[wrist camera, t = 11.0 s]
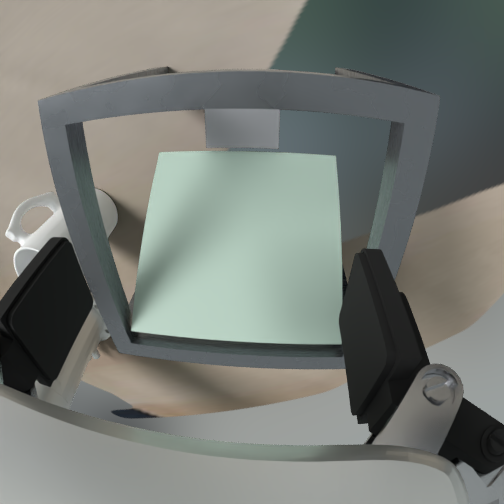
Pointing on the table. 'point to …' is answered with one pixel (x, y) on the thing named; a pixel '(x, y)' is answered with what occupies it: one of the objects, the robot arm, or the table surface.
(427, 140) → the stand
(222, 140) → the grey cube
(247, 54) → the table surface
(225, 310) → the trapdoor
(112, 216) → the mug
